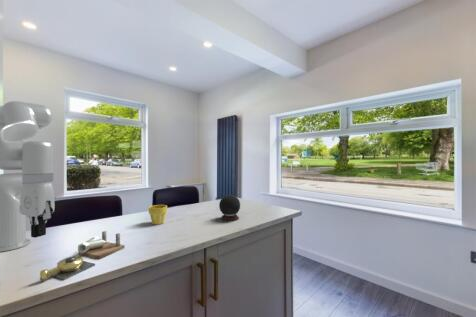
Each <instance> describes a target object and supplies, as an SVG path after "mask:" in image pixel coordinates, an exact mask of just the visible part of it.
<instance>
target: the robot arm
mask: <svg viewBox="0 0 476 317" xmlns="http://www.w3.org/2000/svg"><path fill="white" fill-rule="evenodd" d="M52 120H53V113H52V112H51V110H50V108H49V107H47V106H46V105H44V104H39V103H37V104H36V103H31V102H30V103H29V102H24V101H23V102H22V101H19V100H18V101H8V102H6V103H4V104H3V105H0V170H2V171H3V170H4V171H21V172H6V173H0V253H1V252H8V251H12V250H18V249H20V248H24V247H25V246H26V247H27V246H28V245H29V244H31V239H30V238H27V237H26V236H27V229H26V228H27V224H26V223H27V220H26V219H27V218H28V219H29V223H30V237H31V238H39V237H42V236H46V235H47V222H48V220H49V219H51V218H52V215H51V214H53V213H54V212H55V206H56V205H55V191H54V185H53V184H54V146H53V144H52V143H51V142H49V141H43V140H41V141H40V140H28V141H24V140H27V139H29V138H33V137H34V136H36V135H37V134H38V133H39V130H41V129H43V128H45V127H48V126H50V124H51V123H52ZM19 195H20V197H19ZM26 217H27V218H26Z"/></svg>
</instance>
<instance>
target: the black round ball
mask: <svg viewBox="0 0 476 317" xmlns="http://www.w3.org/2000/svg"><path fill="white" fill-rule="evenodd" d="M218 206H219V211H220V212H221V214H222V215H221V217H220V220H221V221H222V222H223V221H224V222H235V221H239V220H240V219H239V218H240V217H239V215H237V214H238V213H239V212H240V209H241V201H240V200H239V198H238V197H237V196H236V195H234V194H226V195H225V196H223V197H221V199H220V201H219V205H218Z"/></svg>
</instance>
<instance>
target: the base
mask: <svg viewBox="0 0 476 317" xmlns="http://www.w3.org/2000/svg"><path fill="white" fill-rule="evenodd" d="M95 266H96V263H93V262H90V261H84V260H83V266H82V267H80V268H79V269H77V270H74V271H70V272H65V273H60V272H59V273H57V274H54V275H52V276H51V277H52V278H56V279H58V280H62V281H65V280H67V279H70V278H71V277H73V276H77V275H78V274H80V273H82V272H84V271H86V270H88V269H90V268H92V267H95Z"/></svg>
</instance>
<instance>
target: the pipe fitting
mask: <svg viewBox="0 0 476 317" xmlns="http://www.w3.org/2000/svg"><path fill="white" fill-rule="evenodd" d="M106 242H107V240H106V241H105V240H104V241H103V239H102V238H100V237H99V236H96V235H95V236H94V237H92V238H90V239H88V240H86V241H84V242H82V243H80V244H78V246H77V251H79V252H80V253H84V252H86V251H87V250H91V249H96V248H101V247H103V245H105V244H106Z"/></svg>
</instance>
